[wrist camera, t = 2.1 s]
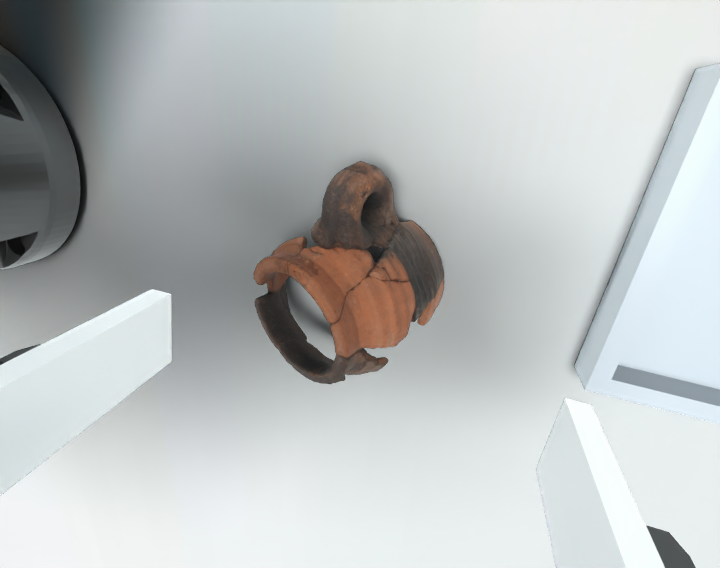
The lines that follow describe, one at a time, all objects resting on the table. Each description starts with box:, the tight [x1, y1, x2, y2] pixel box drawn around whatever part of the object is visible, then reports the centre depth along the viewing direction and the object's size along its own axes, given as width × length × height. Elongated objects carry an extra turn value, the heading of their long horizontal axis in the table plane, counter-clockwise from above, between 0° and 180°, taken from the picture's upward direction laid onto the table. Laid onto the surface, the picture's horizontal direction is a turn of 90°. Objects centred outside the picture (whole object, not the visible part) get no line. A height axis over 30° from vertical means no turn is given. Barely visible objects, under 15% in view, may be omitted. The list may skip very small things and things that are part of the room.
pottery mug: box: [254, 161, 444, 384], centre depth 24 cm, size 12×9×8 cm
